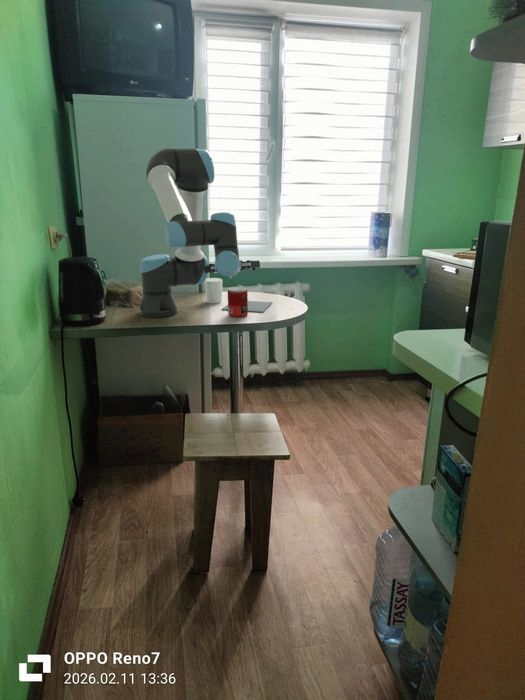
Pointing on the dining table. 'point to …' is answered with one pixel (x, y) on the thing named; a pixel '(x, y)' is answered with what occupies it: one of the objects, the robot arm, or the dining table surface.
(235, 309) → the canned food
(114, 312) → the dining table surface
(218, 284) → the white cup
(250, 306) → the slate mat
